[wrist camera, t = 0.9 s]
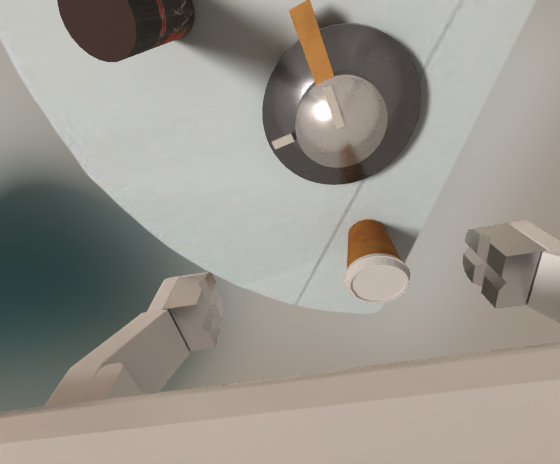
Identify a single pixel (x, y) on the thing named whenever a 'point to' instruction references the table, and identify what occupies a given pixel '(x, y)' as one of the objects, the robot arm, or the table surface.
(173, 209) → the table surface
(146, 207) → the table surface
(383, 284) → the disposable coffee cup
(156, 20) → the deodorant
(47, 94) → the table surface
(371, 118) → the dial
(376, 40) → the plate
